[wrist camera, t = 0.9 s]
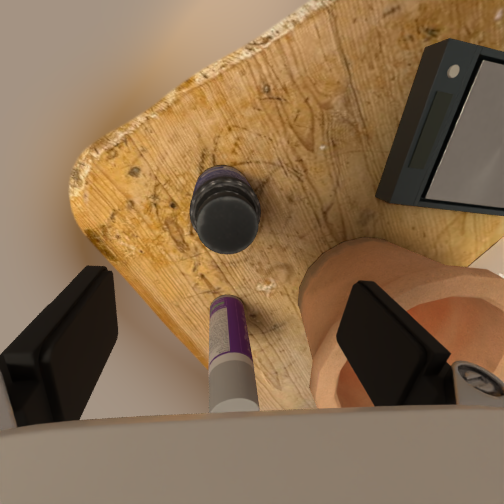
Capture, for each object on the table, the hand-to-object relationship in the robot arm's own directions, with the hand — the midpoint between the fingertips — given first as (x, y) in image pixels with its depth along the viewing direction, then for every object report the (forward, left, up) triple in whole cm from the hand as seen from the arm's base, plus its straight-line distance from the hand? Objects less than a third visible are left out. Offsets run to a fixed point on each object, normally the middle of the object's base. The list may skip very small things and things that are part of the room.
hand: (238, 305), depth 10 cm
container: (+16, +2, -21) cm, 27 cm away
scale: (-9, +28, -21) cm, 36 cm away
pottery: (+12, +20, -21) cm, 32 cm away
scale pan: (-9, +29, -19) cm, 36 cm away
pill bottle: (0, 0, -21) cm, 21 cm away
